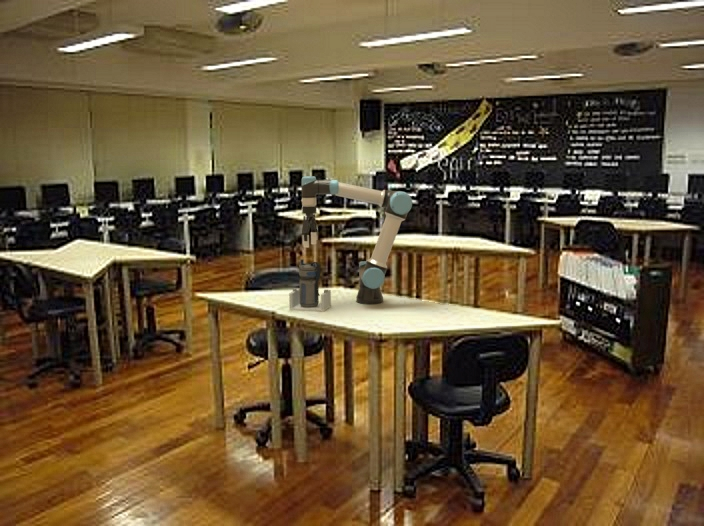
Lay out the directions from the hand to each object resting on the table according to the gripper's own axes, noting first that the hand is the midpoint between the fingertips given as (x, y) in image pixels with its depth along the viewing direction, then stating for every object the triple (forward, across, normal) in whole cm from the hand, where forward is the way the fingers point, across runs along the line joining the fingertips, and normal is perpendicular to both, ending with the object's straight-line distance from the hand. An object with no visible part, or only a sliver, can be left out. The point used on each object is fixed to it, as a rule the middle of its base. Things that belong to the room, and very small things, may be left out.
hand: (310, 245), depth 331 cm
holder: (+34, 0, 0) cm, 34 cm away
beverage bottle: (+33, 0, 0) cm, 33 cm away
